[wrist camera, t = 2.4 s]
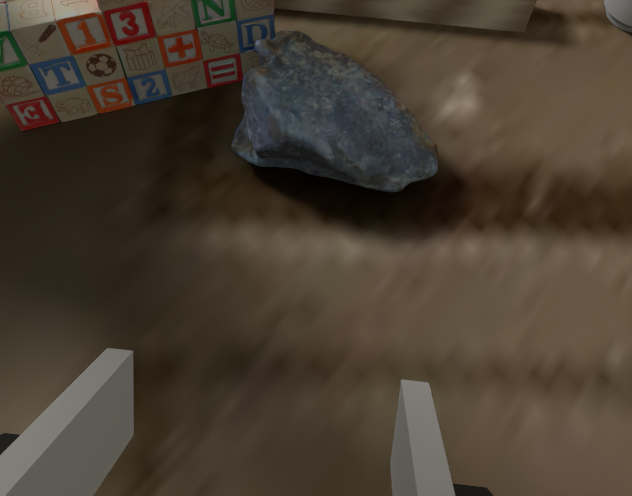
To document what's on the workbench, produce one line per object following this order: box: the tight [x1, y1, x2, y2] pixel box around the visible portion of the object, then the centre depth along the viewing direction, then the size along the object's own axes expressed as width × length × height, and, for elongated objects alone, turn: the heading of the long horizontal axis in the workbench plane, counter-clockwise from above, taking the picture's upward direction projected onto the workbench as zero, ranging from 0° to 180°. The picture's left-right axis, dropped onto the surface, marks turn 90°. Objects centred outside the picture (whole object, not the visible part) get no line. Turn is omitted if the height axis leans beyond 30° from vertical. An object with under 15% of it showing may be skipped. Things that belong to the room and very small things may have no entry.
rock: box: [231, 31, 438, 192], centre depth 42 cm, size 16×8×10 cm
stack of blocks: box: [0, 0, 275, 131], centre depth 43 cm, size 21×6×12 cm, turn 109°
